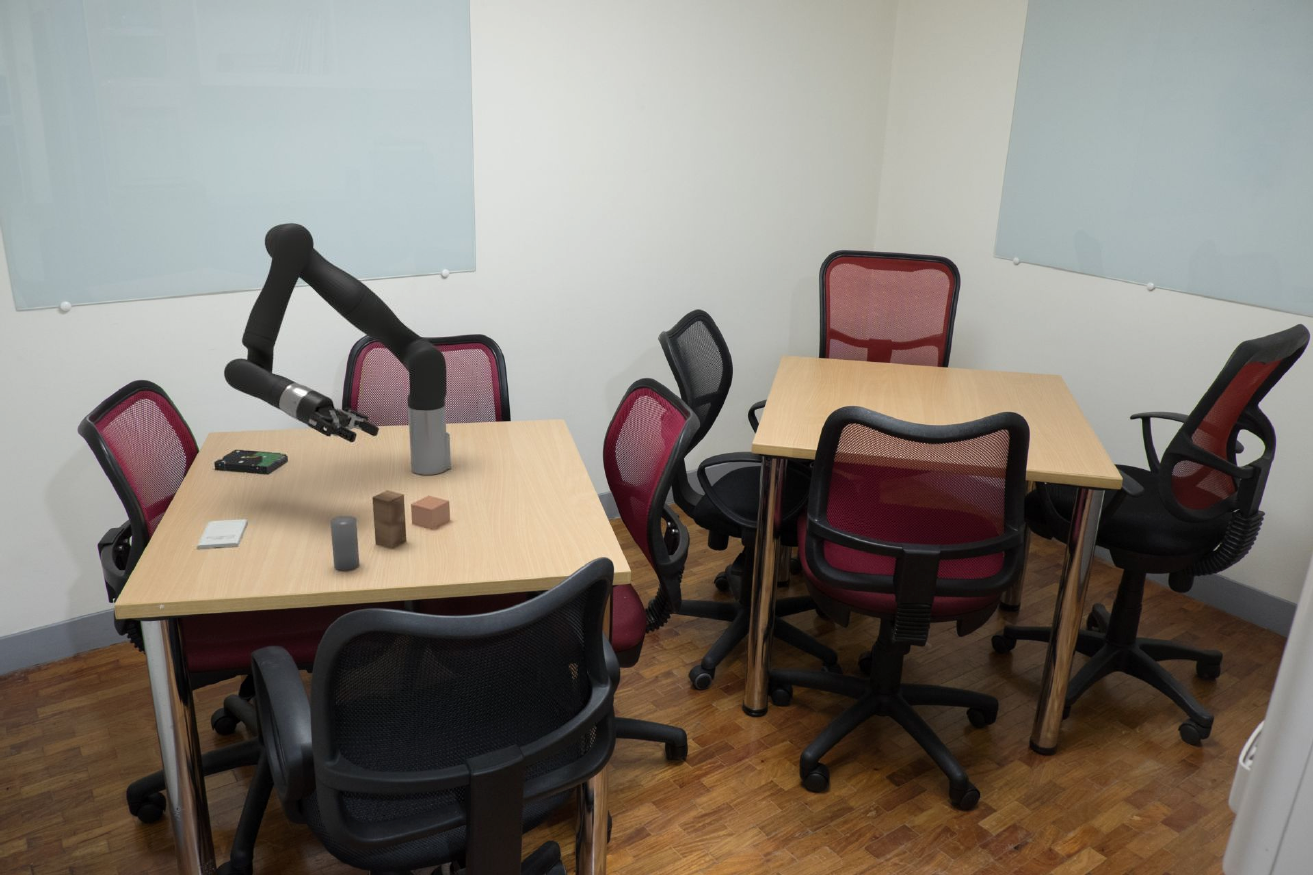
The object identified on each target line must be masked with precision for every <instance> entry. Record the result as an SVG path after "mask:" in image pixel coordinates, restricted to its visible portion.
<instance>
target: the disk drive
mask: <svg viewBox="0 0 1313 875" xmlns="http://www.w3.org/2000/svg"><path fill="white" fill-rule="evenodd" d="M288 458H289V456H288V455H287V454H286V453H282V452H272V451H259V450H249V449H233V450H232V451H231V452H228V454H225V455H223V457H222V458H221V459H219V458H218V459H217V460H215V461H214V471H221V472H233V473H235V472H236V473H245V472H246V473H247V474H256V473H257V475H270V474H272V473H273V472H275V471H277V470H278V469H279V468H281V467H282V466H284V465H285V464H286V463H288V462H289V459H288ZM246 473H245V474H246Z"/></svg>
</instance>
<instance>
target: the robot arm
mask: <svg viewBox="0 0 1313 875" xmlns="http://www.w3.org/2000/svg"><path fill="white" fill-rule="evenodd" d="M264 246H265V250H266V252H267V254H268V255H269V257H270V258H271V263H270V266H269V272H268V274H267V277H266V279H265V281H264V284H263V286H262V288H261V291H260V293H259V294H258V296H257V299H256V300H255V302H254V304H253V306H252V308H251V311H250V312H249V316H248V319H247V322H246V325H245V329H244V332H243V333H242V338H241V343H242V346H244V348H246V349H247V354H246V355H247V356H246V358H242V357H241V358H235V359H232V360H230V361H229V362H228V363H227V364H226V365H225V366H224V371H223V376H224V379H225V381H226V383H227V384H228V385H229V386H230V387H231V388H233V389H234V390H236V391H237V392H240V393H244V394H245V395H248V396H251V397H254V398H256V399H260V400H261V401H263V402H264V403H267V404H268V405H270V406H272V407H274V408H276V409H278V410H279V411H282V412H284V413H285V414H286V415H287V416H289V417H291V418H293V419H295V420H297V421H299V422H301V423H303V424H305V425H307V426H308V427H309V428H311V429H313V430H315V431H317V432H319V433H321V434H322V435H324V436H325V437H330V438H331V436H333V437H340V438H342V439H343V440H346V441H347V442H349V443H354V442H356V439H357V432H355V431H354V430H353V429H356V430H360V431H362V432H364V433H367V434H368V435H370V436H371V437H376V436H378V434H379V430H380V428H379V426H377V425H375V424H373V423H371V422H369V416H367V415H365V414H364V413H361V412H359V411H357V410H354V409H352V408H351V407H347V406H346V407H344V410H343V409H341V408H336V407H335V405H334V401H333V399H332V398H330V397H329V396H326V395H325V394H323V393H320V392H319V391H316V390H314V389H313V388H310V387H308V386H306V385H303V384H300V383H297V382H295V381H294V380H291V379H290V378H288V377H285V376H282V375H280V374H277V373H273V368H274V355H275V354H274V351H275V350H274V349H275V345H276V342H277V339H278V336H279V333H280V330H281V327H282V324H283V321H284V317H285V315H286V312H287V309H288V305H289V303H290V300H291V297H292V294H293V292H294V289H295V287H296V285H297V282H298V280H299V279H300V280H302V281H303V282H304V283H306V284H307V285H308V286H309V287H310V288H312V289H313V290H314V291H315V292H316V293H317V295H319V296H320V297H321V298H322V299H323V300H324V301H325V302H326V303H327V304H328V305H329V306H330V307H331V308H332V309H333V310H335V311H336V313H338V314H339V315H340V316H341V317H342V318H344V319H345V320H346V321H347V322H348V323H349V324H351V325H352V326H353V327H355V328H356V329H357V330H359V331H360V332H362V333H363V334H365V335H366V336H368V337H369V338H371V339H373V340H375V341H377V342H378V343H380V344H381V345H382V346H384V347H385V348H386V349H387V350H388V351H389V352H390V354H392V355H393V356H394V357H395V358H396V359H397V360H398V361H399V363H401V364H402V366H403V367H404V368H405V369H406V371H407V372H408V376H409V394H408V395H407V409H408V410H407V411H408V412H407V413H408V415H407V416H408V427H409V428H408V430H409V448H410V450H409V452H410V465H411V466H410V468H411V471H412V473H414V474H416V475H421V476H422V475H423V476H424V475H425V476H429V475H430V476H431V475H437V474H442V473H444V472H446V471H447V470H450V469H452V463H451V462H452V461H451V460H452V459H451V437H450V436H451V435H450V433H448V432H447V416H446V415H447V414H446V396H447V392H448V391H447V390H448V389H447V363H446V359H445V358H446V357H445V355H444V354H443V352H441V350H440V349H439V348H438V347H437V346H435V345H434V344H433V343H431V342H429V341H428V340H426V339H425V338H423V337H422V336H420V335H419V334H417V333H416V332H414V331H413V330H412V329H411V328H410V327H408V326H407V325H405V323H404V322H402V321H401V320H400V318H399V317H398V316H397V314H395V312H394V311H393V310H392V309H391V308H390V306H388V305H387V303H386V302H384V300H383V299H381V297H379V296H378V295H377V294H376V293H375V292H374V291H373V290H371V288H370V287H369V286H368V285H366V284H365V283H363V282H362V281H361V280H359V279H358V278H357V277H354V276H353V275H352V274H350V273H348V272H347V271H345V270H343V269H341V268H340V267H338V266H336V265H334V264H333V263H331V262H330V261H329V260H327V259H326V258H325V257H324V256H323V255H322V254H321V253H319V251H318V250H317V249H316V248H315V247H314V238H313V236H312V234H311V232H310V231H309V230H308V229H307V228H306V227H305V226H303V225H302V224H300V223H293V222H289V223H281V224H278V225H275V226H272V227H271V228H270V229H268V231H267V232H266V234H265V237H264Z"/></svg>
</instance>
